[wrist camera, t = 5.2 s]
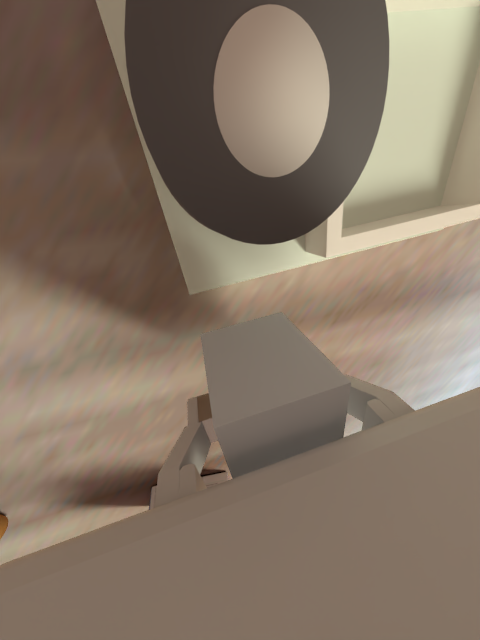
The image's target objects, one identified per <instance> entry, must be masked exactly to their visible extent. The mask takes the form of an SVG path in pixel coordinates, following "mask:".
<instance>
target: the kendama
mask: <svg viewBox="0 0 480 640" xmlns="http://www.w3.org/2000/svg"><path fill="white" fill-rule="evenodd" d="M7 526H8V518H7V517H6V516H4V515H0V539H1V538H2V536H3V535H4V533H5V531H6V529H7Z"/></svg>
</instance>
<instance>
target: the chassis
mask: <svg viewBox="0 0 480 640" xmlns="http://www.w3.org/2000/svg"><path fill="white" fill-rule="evenodd" d="M385 2H386V8H387V15H388V28H389V73H388V85H387V93H386V99H385V105H384V111H383V115H382V119H381V123H380V127H379V131H378V134H377V137H376V140H375V143H374V146H373V149H372V152H371V154H370V156H369V159H368V161H367V163H366V166H365V168H364V170H363V172H362V173H361V175H360V177H359V179H358V181H357V183H356V184H355V186H354V187H353V189H352V190H351V192H350V193H349V195H348V196H347V198H346V199H345V200H344V201H343V203H342V204H341V205H340V206H339V207H338V209H337V210H336V211H335V212H334V213H333V214H332V215H331V216H330V217H329V218H327V219H326V220H325V221H324V222H323V223H321V224H320V225H319V226H318V227H316V228H314V229H313V230H311V231H310V232H308V233H306V234H304V235H302V236H300V237H298V238H296V239H293V240H290V241H286V242H283V243H277V244H270V245H257V244H250V243H244V242H240V241H237V240H233V239H231V238H229V237H226V236H224V235H222V234H220V233H217V232H215V231H213V230H211V229H209V228H207V227H205V226H204V225H202V224H200V223H199V222H198V221H196V220H195V219H194V218H193V217H191V216H190V215H189V214H188V213H187V212H186V211H185V210H184V209H183V208H182V207H181V206H180V204H179V203H178V202H177V201H176V199H175V198H174V197H173V195H172V194H171V193H170V191H169V189H168V188H167V186H166V185H165V183H164V181H163V179H162V177H161V175H160V173H159V171H158V169H157V167H156V165H155V162H154V160H153V158H152V156H151V154H150V152H149V150H148V147H147V145H146V142H145V140H144V137H143V134H142V131H141V129H140V126H139V123H138V120H137V116H136V112H135V108H134V105H133V101H132V97H131V92H130V86H129V79H128V73H127V67H126V53H125V37H124V30H125V5H126V0H96V3H97V6H98V10H99V13H100V16H101V19H102V22H103V25H104V28H105V31H106V35H107V38H108V41H109V44H110V47H111V50H112V53H113V57H114V60H115V63H116V66H117V69H118V72H119V75H120V78H121V82H122V85H123V88H124V91H125V94H126V97H127V100H128V104H129V107H130V110H131V113H132V116H133V119H134V122H135V125H136V129H137V132H138V135H139V138H140V141H141V144H142V147H143V151H144V154H145V157H146V160H147V163H148V166H149V169H150V172H151V176H152V179H153V182H154V185H155V188H156V191H157V194H158V197H159V201H160V204H161V207H162V210H163V213H164V216H165V219H166V223H167V226H168V229H169V232H170V235H171V238H172V241H173V244H174V248H175V251H176V254H177V257H178V260H179V263H180V266H181V270H182V273H183V276H184V279H185V282H186V285H187V288H188V291H189V295H193V294H196V293H200V292H204V291H208V290H212V289H216V288H220V287H223V286H227V285H231V284H235V283H239V282H243V281H247V280H250V279H254V278H258V277H262V276H266V275H270V274H274V273H277V272H281V271H285V270H289V269H293V268H297V267H300V266H304V265H308V264H312V263H316V262H320V261H324V260H327V259H331V258H335V257H339V256H343V255H347V254H351V253H354V252H358V251H362V250H366V249H370V248H374V247H378V246H381V245H385V244H389V243H393V242H397V241H401V240H405V239H408V238H412V237H416V236H420V235H424V234H428V233H432V232H435V231H439V230H443V228H444V227H448V226H452V225H456V224H460V223H463V222H467V221H471V220H475V219H479V218H480V0H385Z"/></svg>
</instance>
